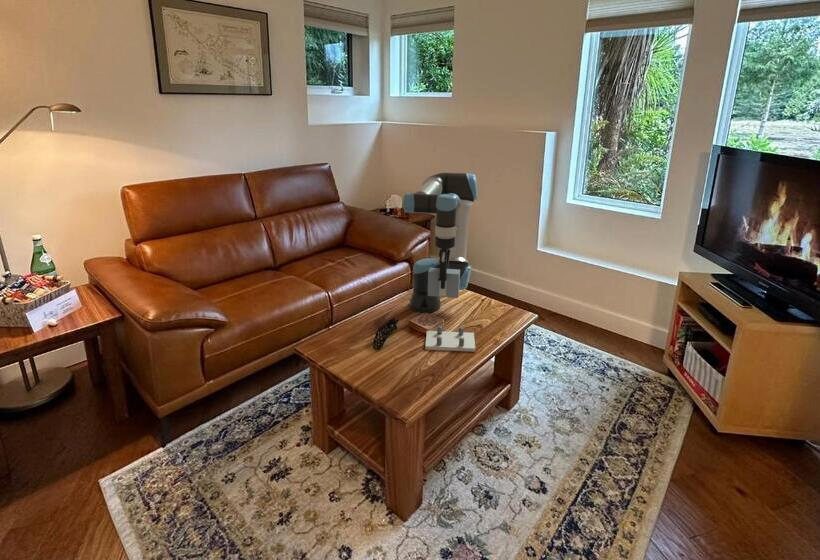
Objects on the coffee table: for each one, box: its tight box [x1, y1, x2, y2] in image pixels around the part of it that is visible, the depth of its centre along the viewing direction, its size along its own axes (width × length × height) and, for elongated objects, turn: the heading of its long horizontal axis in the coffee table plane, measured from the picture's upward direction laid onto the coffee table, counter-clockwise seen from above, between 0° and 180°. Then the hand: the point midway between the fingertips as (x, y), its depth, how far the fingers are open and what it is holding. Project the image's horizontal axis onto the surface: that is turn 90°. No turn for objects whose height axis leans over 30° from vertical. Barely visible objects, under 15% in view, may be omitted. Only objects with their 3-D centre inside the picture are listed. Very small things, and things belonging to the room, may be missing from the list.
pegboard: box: [424, 325, 476, 353], centre depth 192 cm, size 20×13×4 cm, turn 86°
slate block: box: [428, 268, 460, 299], centre depth 183 cm, size 12×5×10 cm, turn 80°
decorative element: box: [372, 317, 399, 351], centre depth 196 cm, size 22×5×6 cm, turn 163°
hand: (443, 292), depth 184 cm, fingers closed on slate block, 5 cm apart
